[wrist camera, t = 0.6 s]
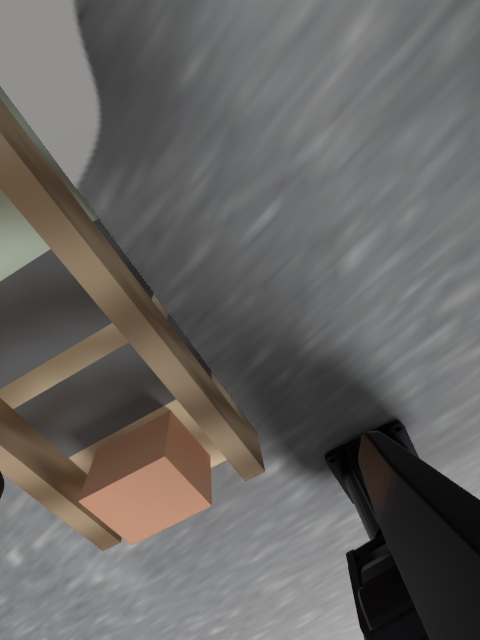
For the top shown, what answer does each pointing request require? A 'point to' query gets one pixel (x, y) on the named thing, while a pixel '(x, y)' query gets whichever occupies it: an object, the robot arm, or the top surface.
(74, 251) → the frame
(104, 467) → the terracotta block
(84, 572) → the top surface
